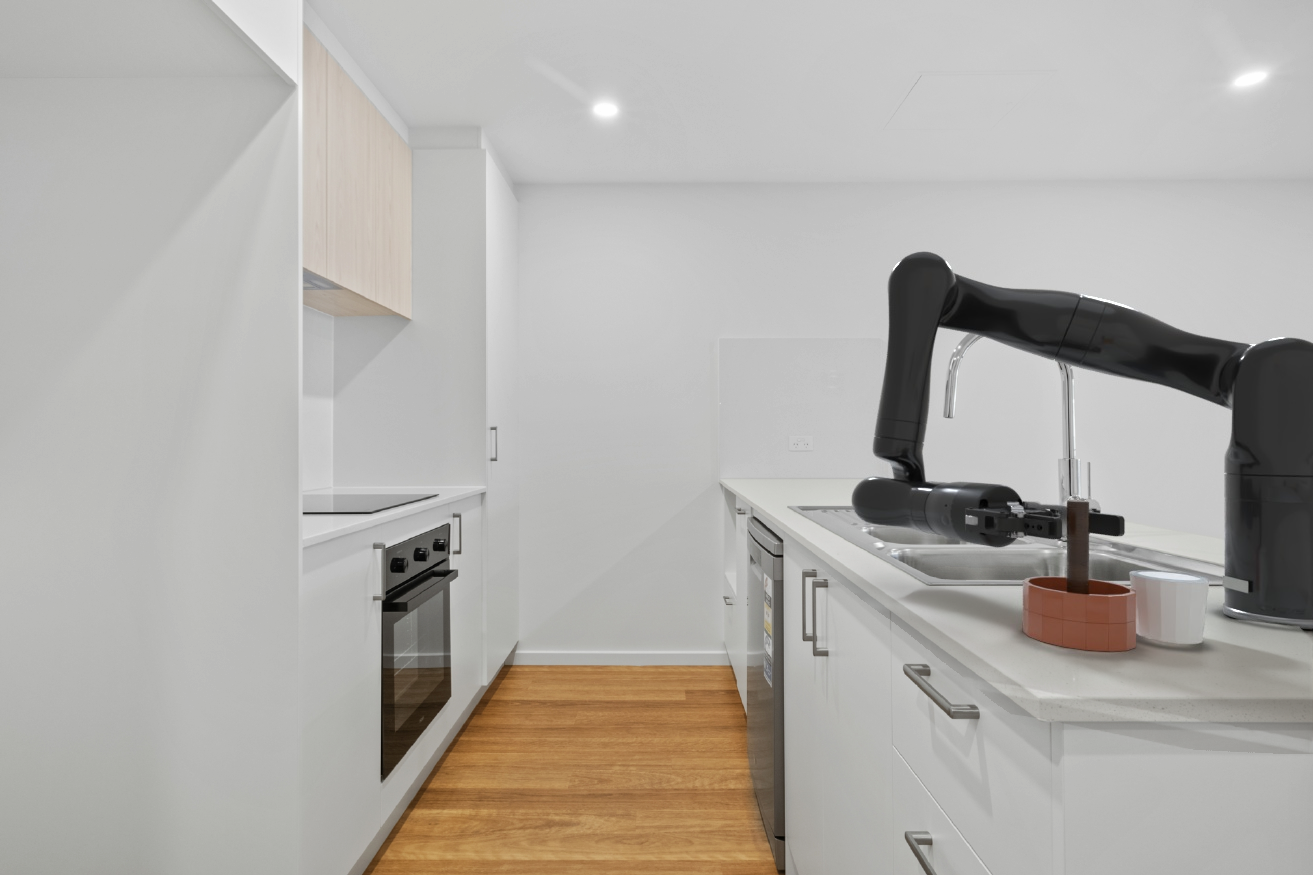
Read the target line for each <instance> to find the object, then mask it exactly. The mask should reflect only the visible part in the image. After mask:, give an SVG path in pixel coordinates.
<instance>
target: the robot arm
mask: <svg viewBox="0 0 1313 875" xmlns="http://www.w3.org/2000/svg"><path fill="white" fill-rule="evenodd" d="M887 300H888V302H887V304H888V335H887V350H886V360H885V366H884V374H883V379H882V385H881V392H880V399H879V403H878V408H877V415H876V422H875V428H874V433H873V440H872V453H873V455H874V456H875V457H876V458H878V459H879V460H881V461H884V462H886V463H888V464H890V467H891V470H892V475H893V477H885V476H884V477H883V476H874V475H873V476H868V477H866V478H864V479H862V480H861V481H860V482H859V481H858V483H857V485H855V487H854V489H853V491H852V492H851V493H852V494H851V506H852V509H853V511H854V514H855V516H857V517H858V518H859V519H860V520H861V521H862V522H864V523H866V524H869V525H874V526H875V525H876V526H885V527H893V528H906V529H910V530H915V531H917V532H922V533H925V534H931V535H937V536H941V537H945V538H947V539H950V540H953V541H958V542H964V543H968V544H975V545H980V546H984V547H985V546H986V547H990V548H991V547H992V548H1004V547H1008V546H1010V545H1012V544H1013V543H1014V542H1015V541H1016V540H1018V539H1024V537H1035V538H1041V539H1046V540H1053V541H1054V540H1061V539H1062V538H1063V537H1067V504H1054V503H1041V502H1040V501H1035V500H1022V497H1021V496H1020V494H1018V492H1017V491H1016V490H1015V489H1013V488H1012V487H1010V486H1008V485H1005V484H1002V483H1001V484H999V483H985V482H974V481H973V482H970V481H951V482H948V481H947V482H946V481H945V482H944V481H931V480H929V481H928V480H927V479H926V471H925V470H926V469H925V461H924V452H923V451H924V446H925V441H926V440H925V439H926V433H927V426H928V419H929V412H930V399H931V380H932V379H931V377H932V364H933V355H934V347H935V343H936V342H935V341H936V338H937V333H938V329H939V328H940V329H944V330H945V329H946V330H951V331H957V332H961V333H962V332H963V333H968V334H972V335H976V336H981V337H983V338H986V339H990V340H993V341H995V342H998V343H1000V344H1003V345H1005V346H1008V347H1011V348H1013V349H1017V350H1020V351H1022V352H1025V353H1029V354H1031V355H1034V356H1038V357H1040V358H1044V359H1047V360H1050V361H1054V362H1058V363H1061V364H1065V365H1067V366H1072V367H1075V368H1078V369H1082V370H1087V371H1090V372H1091V371H1092V372H1095V373H1100V374H1103V375H1109V376H1113V377H1117V378H1122V379H1127V380H1133V381H1137V382H1138V381H1139V382H1144V383H1150V384H1155V385H1159V386H1163V387H1166V388H1170V389H1173V390H1176V391H1178V392H1182V393H1185V394H1188V395H1191V396H1193V397H1196V398H1199V399H1202V400H1204V401H1207V402H1211V403H1212V404H1216V405H1217V406H1220V407H1223V408H1225V409H1228V410H1230V411H1231V432H1230V438H1229V443H1228V446H1227V448H1226V450H1225V453H1224V457H1223V465H1224V466H1223V472H1224V480H1223V482H1224V488H1223V489H1224V492H1223V493H1224V498H1223V499H1224V575H1222V587H1223V588H1224V590H1223V594H1224V596H1223V598H1224V599H1223V600H1224V601H1223V604H1222V605H1223V606H1222V607H1223V608H1222V610H1223V611H1222V612H1223V614H1224V615H1226V616H1228V617H1230V618H1233V619H1235V620H1240V621H1245V622H1256V623H1262V624H1263V623H1264V624H1272V625H1273V624H1274V625H1281V626H1290V627H1298V628H1300V629H1301V630H1313V342H1311V341H1309V340H1306V339H1303V338H1298V337H1276V338H1272V339H1266V340H1264V341H1261V342H1259V343H1256V344H1255V343H1246V342H1240V341H1232V340H1227V339H1221V338H1216V337H1211V336H1205V335H1201V334H1197V333H1192V332H1190V331H1185V330H1183V329H1180V328H1178V327H1175V326H1173V325H1171V324H1168V323H1167V322H1164V321H1162V320H1160V319H1158V318H1156V317H1154V316H1151V315H1149V314H1147V313H1146V312H1145V313H1144V312H1143V311H1140V310H1138V309H1135V308H1133V307H1131V306H1128V305H1125V304H1122V303H1119V302H1115V301H1111V300H1107V299H1103V298H1100V297H1099V298H1098V297H1096V296H1091V295H1086V294H1081V293H1077V292H1073V291H1065V290H1058V289H1043V288H1042V289H1041V288H1013V287H1011V288H1010V287H1002V286H996V285H992V284H988V283H985V282H983V281H978V280H975V279H971V278H969V277H967V276H963V275H960V274H958V273H955V272H954V270H953V268H952V267H951V265H950V263H949V262H948V261H946V259H944V258H943V257H942V256H940V255H939V254H937V253H934V252H931V251H916V252H913V253H910V254H908V255H906V256H904V257H903V258H902V259H900V260H899V261H898V262H897V263H896V264H895V265H894V267H893V269H892V270H891V272H890V274H889V276H888V280H887ZM1125 523H1126V519H1125V517H1124V516H1123V515H1120V514H1112V513H1102V512H1101V509H1097V508H1095V507H1094V508H1093V507H1092V508H1089V535H1090V534H1094V535H1101V536H1109V537H1123V536H1125V534H1126V532H1125V530H1126V524H1125Z"/></svg>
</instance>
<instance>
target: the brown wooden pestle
mask: <svg viewBox="0 0 1313 875" xmlns="http://www.w3.org/2000/svg"><path fill="white" fill-rule="evenodd" d="M1066 505H1067V535H1066V577H1067V592H1071V593H1080V594H1089V579H1090V534H1089V509H1090V501H1088V500H1075V499H1074V500H1067V501H1066Z"/></svg>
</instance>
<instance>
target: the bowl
mask: <svg viewBox="0 0 1313 875" xmlns="http://www.w3.org/2000/svg"><path fill="white" fill-rule="evenodd" d="M1022 632H1023V633H1024V634H1026V636H1028V637H1029V638H1031V639H1034V640H1037V641H1039V642H1042V643H1045V644H1050V645H1054V646H1058V647H1062V648H1069V649H1076V650H1081V651H1083V650H1084V651H1093V652H1109V653H1111V652H1126V651H1129V650H1132V649H1136V648H1137V633H1136V590H1135V589H1133V588H1131V586H1128V585H1126V584H1125V585H1124V584H1121V583H1117V582H1112V581H1107V580H1106V581H1105V580H1100V579H1093V578H1089V594H1080V593H1071V592H1067V576H1058V575H1057V576H1055V575H1048V576H1047V575H1046V576H1043V575H1042V576H1032V577H1026V578H1024V579H1023V580H1022Z"/></svg>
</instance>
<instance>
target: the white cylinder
mask: <svg viewBox="0 0 1313 875" xmlns="http://www.w3.org/2000/svg"><path fill="white" fill-rule="evenodd" d="M1128 574H1129V581H1130V582H1129V583H1130V588H1133V589H1135V590H1136V635H1138V636H1140V637H1142V638H1146V639H1148V640H1153V641H1158V642H1161V643H1169V644H1177V645H1178V644H1179V645H1198V644H1201V643H1203V640H1204V633H1205V632H1204V630H1205V624H1206V623H1205V622H1206V614H1207V605H1208V597H1209V587H1210V579H1209V578H1207V577H1204V576H1200V575H1196V574H1191V573H1186V572H1179V571H1169V570H1157V569H1144V570H1141V569H1140V570H1132V571H1129V573H1128Z"/></svg>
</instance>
